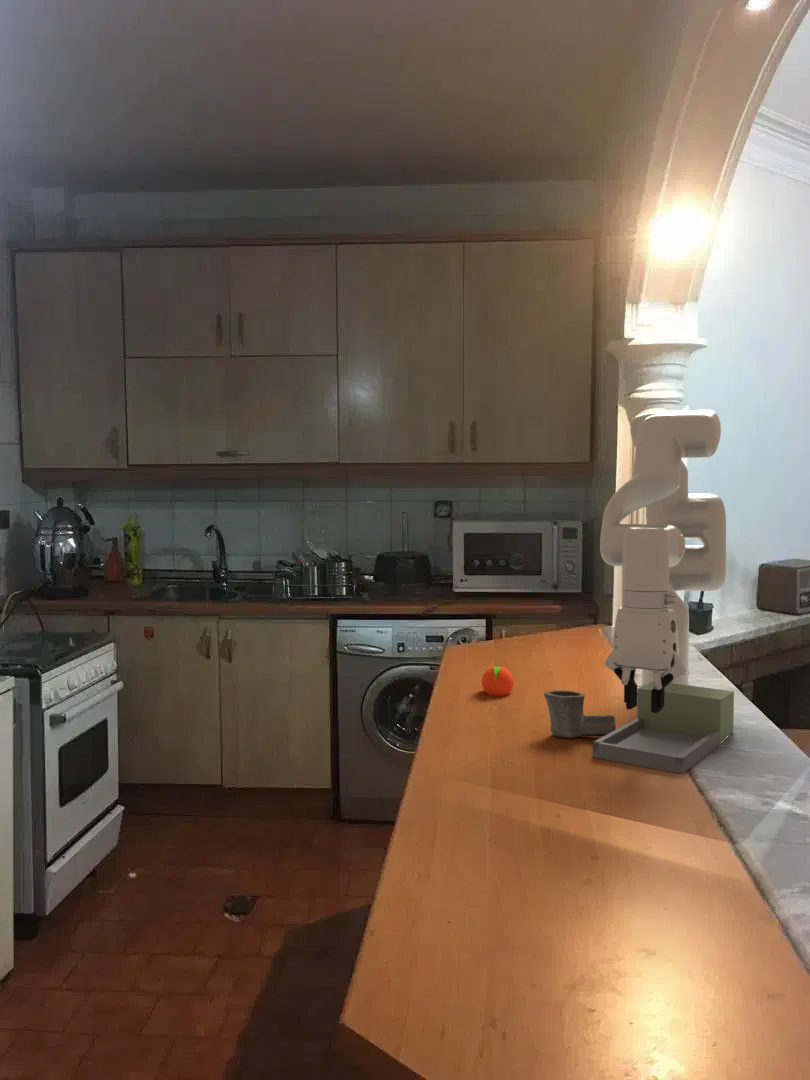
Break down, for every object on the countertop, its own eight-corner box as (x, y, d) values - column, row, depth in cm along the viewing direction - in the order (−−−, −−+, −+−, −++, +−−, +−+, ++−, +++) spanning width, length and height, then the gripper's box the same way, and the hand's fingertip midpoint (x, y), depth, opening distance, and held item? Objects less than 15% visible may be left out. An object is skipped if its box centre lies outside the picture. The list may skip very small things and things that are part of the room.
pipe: (615, 743, 150) (616, 698, 150) (542, 739, 153) (542, 695, 152) (615, 734, 156) (615, 691, 156) (544, 730, 159) (544, 688, 158)
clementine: (511, 703, 180) (512, 670, 180) (479, 702, 181) (479, 668, 181) (514, 694, 188) (514, 663, 187) (483, 693, 189) (483, 661, 189)
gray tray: (653, 722, 164) (653, 681, 164) (733, 734, 155) (733, 691, 155) (592, 757, 142) (592, 709, 141) (682, 774, 133) (682, 723, 133)
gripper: (702, 602, 140) (701, 712, 140) (607, 595, 150) (606, 699, 150) (687, 606, 134) (686, 721, 134) (589, 599, 144) (588, 707, 144)
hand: (643, 708), depth 142 cm, fingers open, 3 cm apart
